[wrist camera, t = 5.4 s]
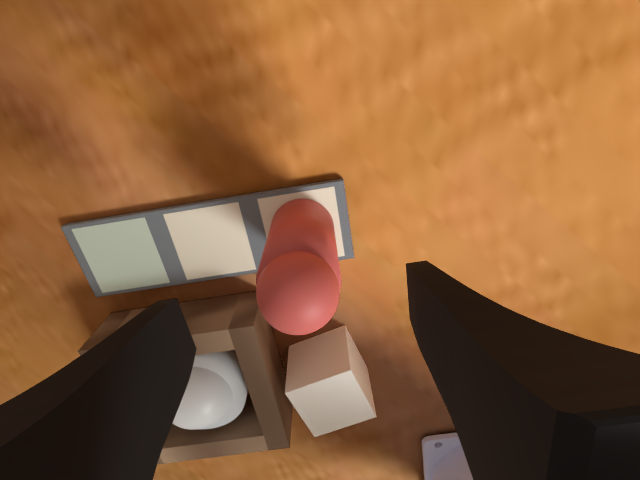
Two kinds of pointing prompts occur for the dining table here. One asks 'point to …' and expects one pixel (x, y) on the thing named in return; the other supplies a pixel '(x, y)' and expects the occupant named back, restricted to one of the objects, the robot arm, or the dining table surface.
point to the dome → (212, 392)
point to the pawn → (299, 269)
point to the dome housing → (257, 367)
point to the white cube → (329, 382)
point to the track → (193, 239)
